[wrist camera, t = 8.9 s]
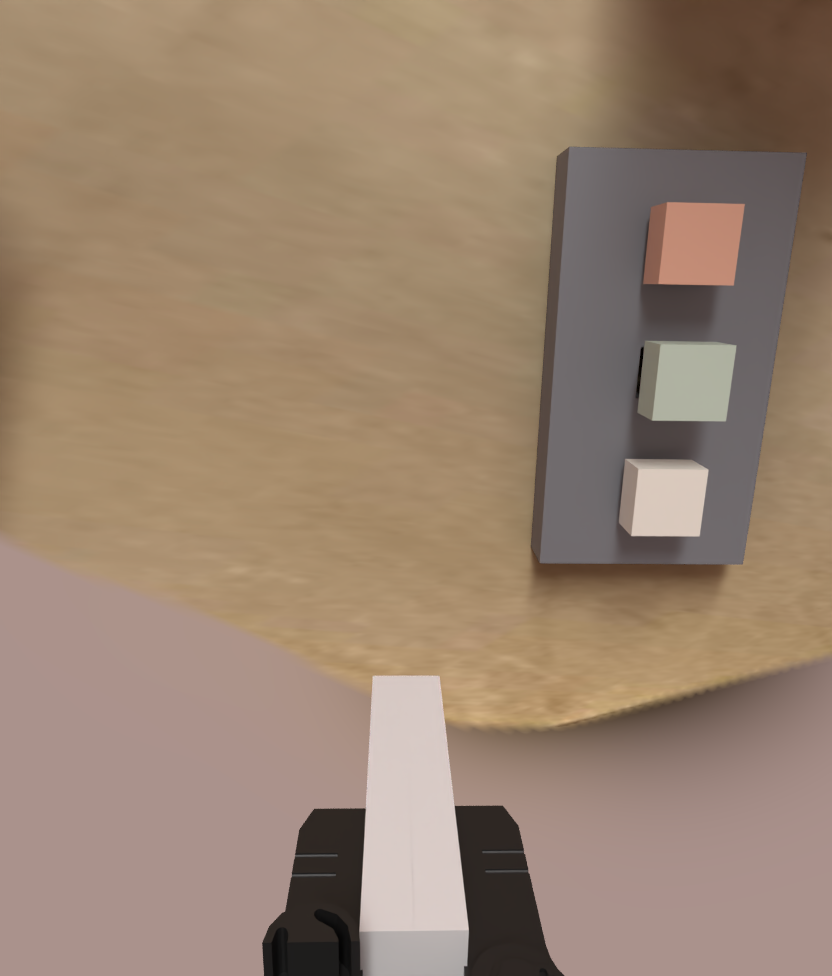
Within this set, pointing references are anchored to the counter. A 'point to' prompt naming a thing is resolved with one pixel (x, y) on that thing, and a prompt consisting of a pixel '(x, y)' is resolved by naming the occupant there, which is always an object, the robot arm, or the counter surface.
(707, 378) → the key sage
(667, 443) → the console
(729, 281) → the key terracotta
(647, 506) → the key ivory
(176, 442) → the counter surface
